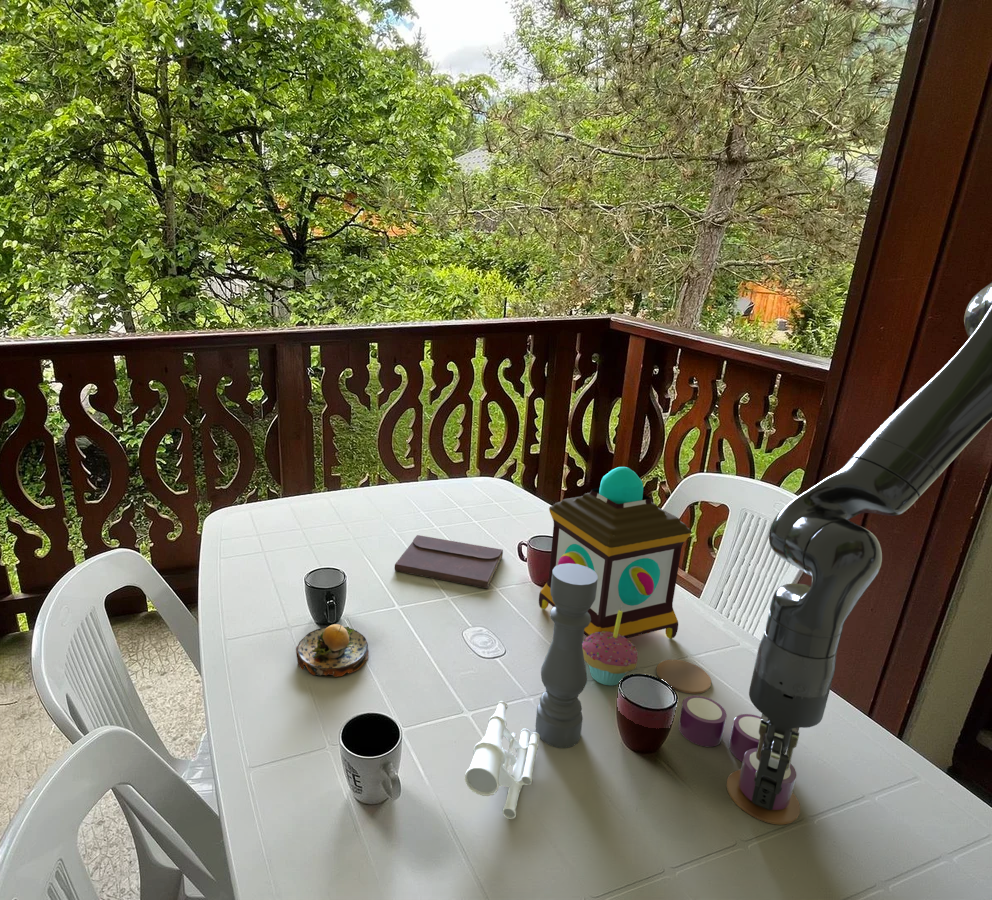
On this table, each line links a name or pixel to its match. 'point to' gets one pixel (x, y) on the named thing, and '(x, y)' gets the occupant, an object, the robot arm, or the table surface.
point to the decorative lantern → (621, 554)
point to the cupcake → (609, 655)
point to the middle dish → (744, 734)
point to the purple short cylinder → (748, 776)
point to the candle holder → (566, 656)
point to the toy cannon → (502, 761)
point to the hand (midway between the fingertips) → (764, 787)
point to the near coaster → (758, 812)
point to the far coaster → (684, 676)
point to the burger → (332, 651)
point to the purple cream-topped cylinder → (702, 721)
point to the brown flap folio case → (450, 561)
